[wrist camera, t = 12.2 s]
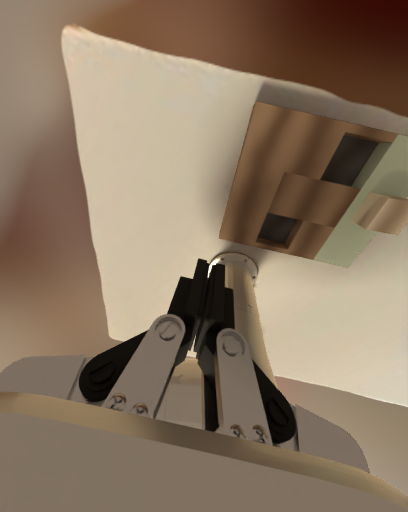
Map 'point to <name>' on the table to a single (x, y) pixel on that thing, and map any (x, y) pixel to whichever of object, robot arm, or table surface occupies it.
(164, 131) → the table surface
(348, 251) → the pad
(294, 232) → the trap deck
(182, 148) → the table surface
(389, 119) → the table surface
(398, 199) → the maple block
